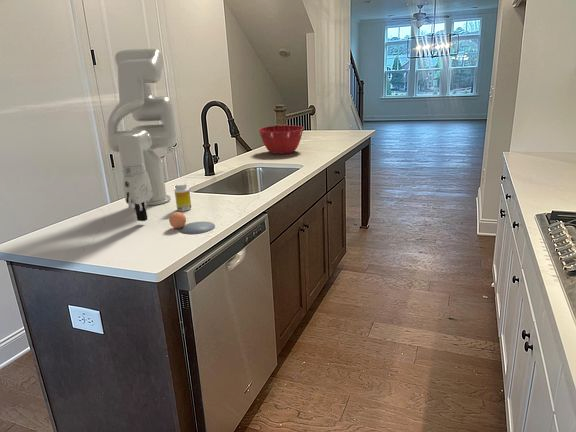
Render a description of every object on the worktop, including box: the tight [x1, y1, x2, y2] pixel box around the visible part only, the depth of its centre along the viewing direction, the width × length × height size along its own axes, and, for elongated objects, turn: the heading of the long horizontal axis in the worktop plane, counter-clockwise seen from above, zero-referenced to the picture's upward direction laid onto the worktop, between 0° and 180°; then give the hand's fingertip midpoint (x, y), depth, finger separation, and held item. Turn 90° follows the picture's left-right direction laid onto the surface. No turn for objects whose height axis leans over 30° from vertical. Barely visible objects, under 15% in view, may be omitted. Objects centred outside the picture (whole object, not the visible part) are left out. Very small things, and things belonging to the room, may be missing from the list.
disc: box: [178, 221, 216, 235], centre depth 150 cm, size 12×12×1 cm
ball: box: [168, 211, 187, 229], centre depth 150 cm, size 6×6×6 cm
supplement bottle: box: [174, 182, 192, 212], centre depth 171 cm, size 6×6×10 cm
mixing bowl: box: [258, 124, 304, 155], centre depth 278 cm, size 28×28×16 cm
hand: (142, 220), depth 157 cm, fingers closed
